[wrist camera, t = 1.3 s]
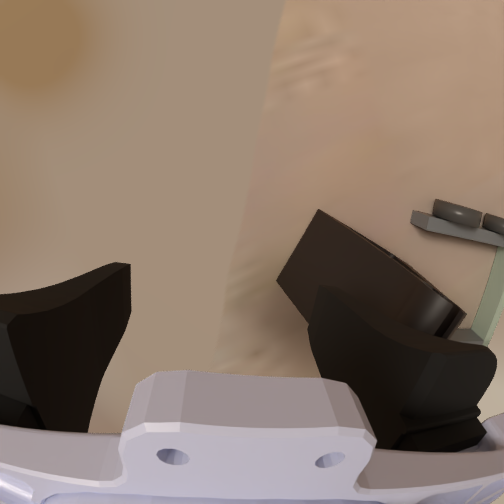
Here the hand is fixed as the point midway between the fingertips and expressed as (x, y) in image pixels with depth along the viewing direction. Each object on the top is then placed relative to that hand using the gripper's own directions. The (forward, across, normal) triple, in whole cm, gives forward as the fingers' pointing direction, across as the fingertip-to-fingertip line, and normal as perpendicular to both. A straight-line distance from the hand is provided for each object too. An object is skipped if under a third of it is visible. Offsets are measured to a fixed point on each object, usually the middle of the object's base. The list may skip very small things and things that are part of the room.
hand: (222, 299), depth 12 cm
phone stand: (+11, -9, +2) cm, 14 cm away
